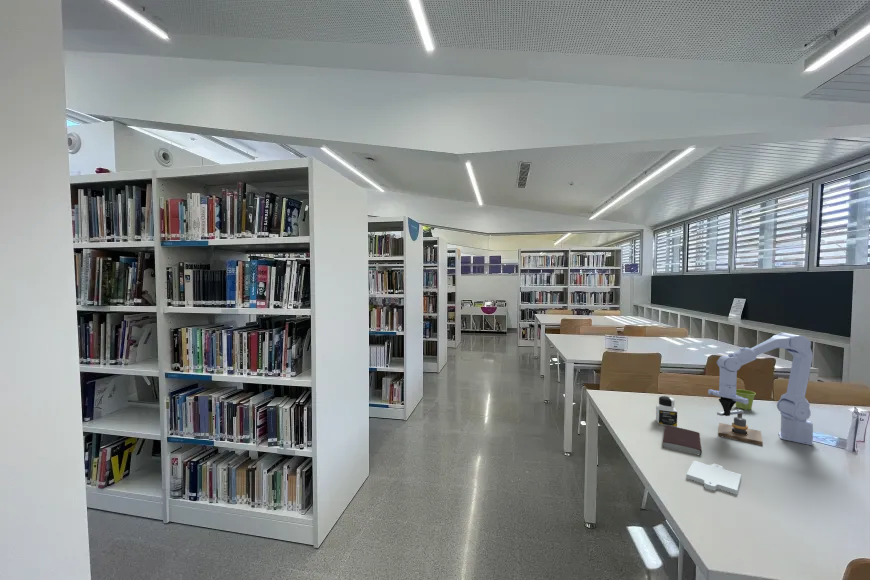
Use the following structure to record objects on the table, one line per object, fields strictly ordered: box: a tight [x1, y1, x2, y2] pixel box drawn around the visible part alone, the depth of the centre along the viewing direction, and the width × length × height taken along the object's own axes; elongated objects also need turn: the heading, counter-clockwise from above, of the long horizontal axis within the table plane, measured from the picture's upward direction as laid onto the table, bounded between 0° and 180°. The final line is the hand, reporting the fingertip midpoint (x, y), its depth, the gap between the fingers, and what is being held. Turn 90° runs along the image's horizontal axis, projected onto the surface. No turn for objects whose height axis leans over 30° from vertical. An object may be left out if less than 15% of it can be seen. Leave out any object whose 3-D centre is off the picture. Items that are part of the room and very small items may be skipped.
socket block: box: [717, 414, 764, 447], centre depth 154 cm, size 14×14×8 cm
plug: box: [731, 416, 749, 435], centre depth 154 cm, size 5×5×7 cm
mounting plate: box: [685, 460, 742, 496], centre depth 119 cm, size 18×13×2 cm
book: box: [662, 425, 703, 456], centre depth 146 cm, size 12×19×3 cm, turn 145°
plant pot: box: [735, 388, 757, 411], centre depth 188 cm, size 9×9×9 cm
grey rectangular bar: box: [716, 408, 744, 417], centre depth 157 cm, size 13×2×1 cm, turn 105°
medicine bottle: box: [655, 395, 678, 427], centre depth 166 cm, size 7×7×12 cm
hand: (726, 415), depth 155 cm, fingers closed, pressing on grey rectangular bar
